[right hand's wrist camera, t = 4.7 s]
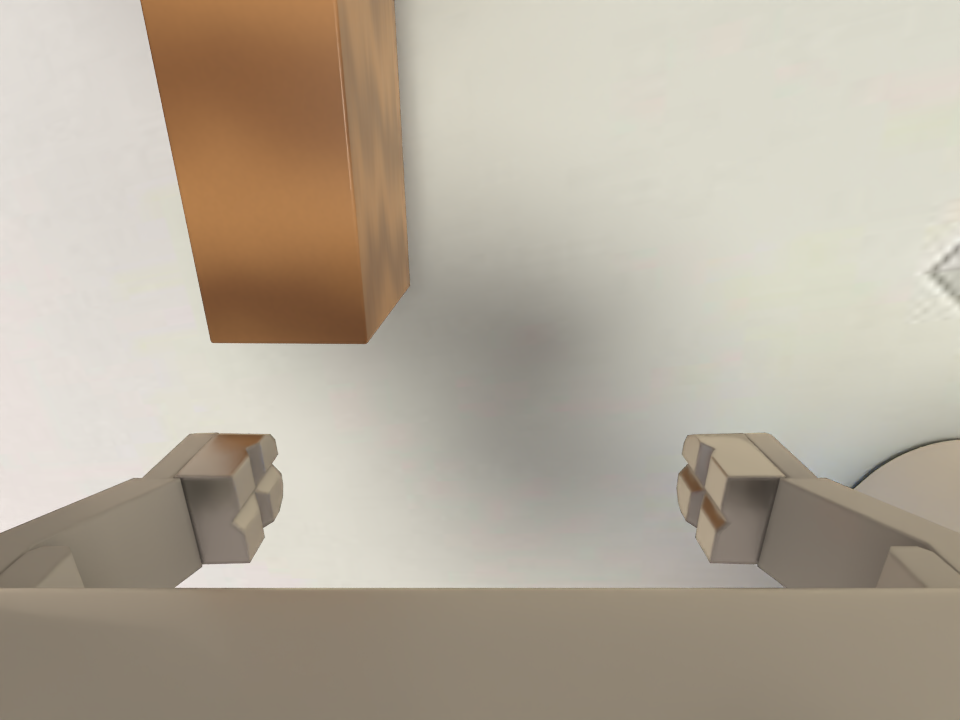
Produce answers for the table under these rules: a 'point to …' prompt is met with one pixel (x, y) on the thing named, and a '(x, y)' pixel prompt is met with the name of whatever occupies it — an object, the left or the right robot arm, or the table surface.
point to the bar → (287, 162)
